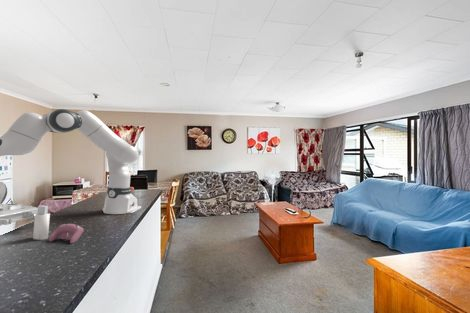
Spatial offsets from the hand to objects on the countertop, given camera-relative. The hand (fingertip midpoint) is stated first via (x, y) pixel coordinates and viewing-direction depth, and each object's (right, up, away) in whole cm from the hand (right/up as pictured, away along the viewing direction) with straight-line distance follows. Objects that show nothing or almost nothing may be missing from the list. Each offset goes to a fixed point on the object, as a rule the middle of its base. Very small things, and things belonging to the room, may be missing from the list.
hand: (23, 218), depth 85 cm
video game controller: (+18, -8, -2) cm, 20 cm away
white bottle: (+8, -7, -2) cm, 10 cm away
